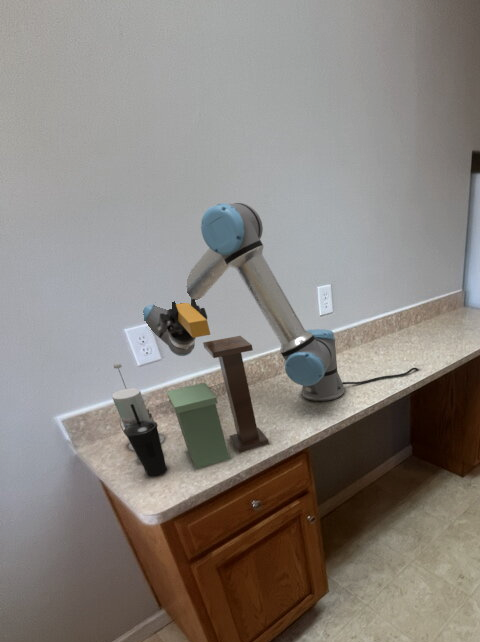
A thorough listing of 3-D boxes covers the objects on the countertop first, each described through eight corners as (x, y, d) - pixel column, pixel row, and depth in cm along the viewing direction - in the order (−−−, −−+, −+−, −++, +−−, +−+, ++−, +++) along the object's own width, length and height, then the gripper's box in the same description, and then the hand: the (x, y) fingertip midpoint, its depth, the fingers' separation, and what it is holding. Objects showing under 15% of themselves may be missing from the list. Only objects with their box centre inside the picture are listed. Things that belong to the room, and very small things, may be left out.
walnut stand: (271, 443, 123) (251, 344, 107) (237, 454, 119) (212, 352, 103) (260, 430, 130) (240, 335, 115) (227, 439, 126) (202, 342, 110)
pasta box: (210, 334, 98) (206, 319, 96) (192, 337, 96) (188, 322, 94) (191, 315, 114) (187, 302, 112) (175, 317, 112) (172, 304, 110)
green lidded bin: (232, 459, 117) (216, 397, 107) (194, 470, 112) (174, 407, 102) (220, 441, 125) (205, 382, 115) (185, 451, 121) (166, 391, 111)
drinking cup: (178, 464, 115) (155, 398, 105) (162, 480, 109) (137, 412, 98) (152, 463, 116) (126, 397, 105) (135, 479, 109) (106, 411, 99)
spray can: (133, 464, 115) (106, 399, 105) (144, 452, 121) (119, 388, 110) (157, 463, 116) (132, 398, 105) (166, 451, 121) (144, 387, 110)
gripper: (215, 339, 130) (224, 314, 109) (155, 350, 122) (153, 325, 101) (207, 316, 129) (214, 286, 108) (147, 325, 121) (142, 295, 101)
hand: (185, 305), depth 105 cm, fingers closed on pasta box, 4 cm apart
